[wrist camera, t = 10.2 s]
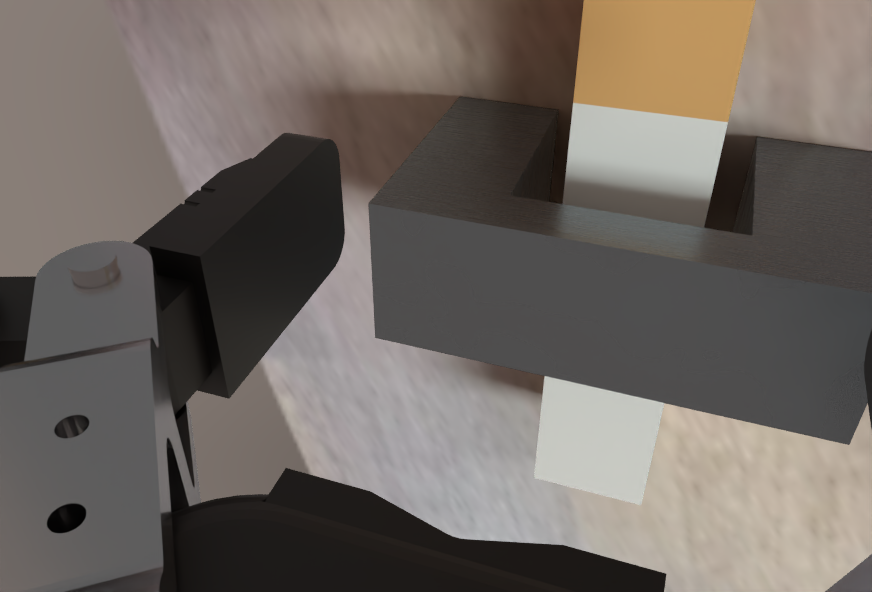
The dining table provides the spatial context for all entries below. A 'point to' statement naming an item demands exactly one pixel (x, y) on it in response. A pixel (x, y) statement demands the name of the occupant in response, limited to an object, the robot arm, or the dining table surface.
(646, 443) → the bar
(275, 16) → the dining table surface
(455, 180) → the u-shaped slotted block
